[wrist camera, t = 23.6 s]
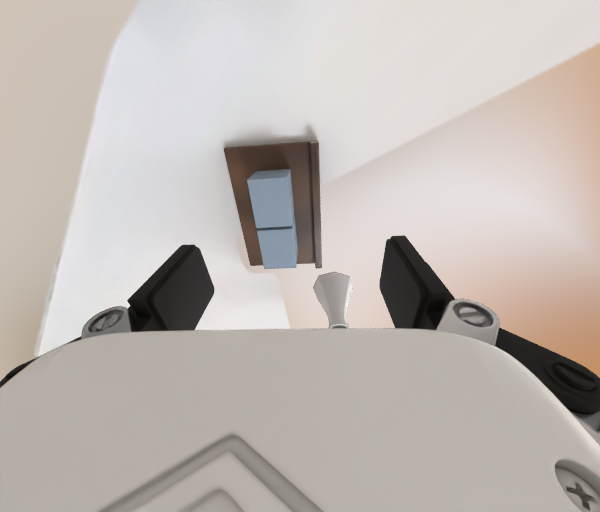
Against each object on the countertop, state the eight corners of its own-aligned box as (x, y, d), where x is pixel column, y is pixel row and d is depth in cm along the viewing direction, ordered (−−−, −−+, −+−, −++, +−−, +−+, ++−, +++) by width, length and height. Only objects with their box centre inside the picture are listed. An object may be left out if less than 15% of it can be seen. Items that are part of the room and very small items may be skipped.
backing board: (226, 147, 29) (219, 149, 27) (318, 140, 28) (318, 142, 26) (251, 262, 38) (248, 271, 36) (321, 259, 37) (321, 268, 35)
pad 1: (256, 171, 29) (246, 179, 25) (290, 168, 29) (287, 177, 25) (263, 214, 32) (256, 228, 28) (294, 212, 32) (291, 226, 28)
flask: (350, 302, 42) (360, 348, 34) (312, 301, 42) (313, 346, 34) (355, 271, 38) (368, 314, 30) (313, 270, 39) (314, 313, 30)
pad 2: (263, 216, 33) (256, 230, 28) (294, 214, 32) (292, 229, 28) (269, 251, 36) (264, 269, 31) (297, 250, 35) (296, 267, 31)
